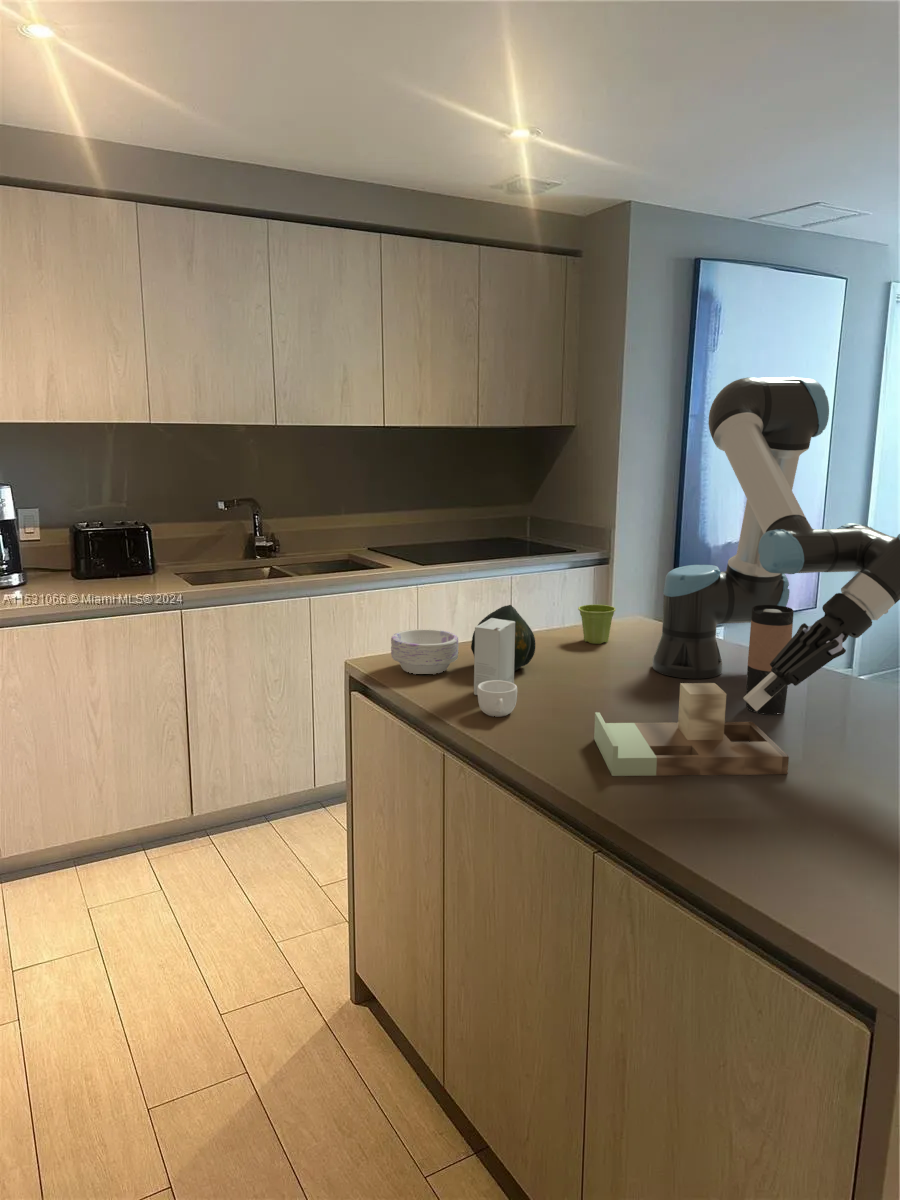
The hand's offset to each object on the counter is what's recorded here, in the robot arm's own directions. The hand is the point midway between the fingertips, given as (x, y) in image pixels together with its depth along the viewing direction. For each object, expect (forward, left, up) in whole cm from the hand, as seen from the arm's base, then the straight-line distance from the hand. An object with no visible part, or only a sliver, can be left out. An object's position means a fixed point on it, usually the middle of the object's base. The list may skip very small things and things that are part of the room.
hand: (749, 704), depth 145 cm
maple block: (+7, -3, -5) cm, 10 cm away
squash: (+18, -61, -9) cm, 65 cm away
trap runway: (+8, -1, -8) cm, 11 cm away
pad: (+21, -5, -8) cm, 23 cm away
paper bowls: (+35, -66, -9) cm, 76 cm away
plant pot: (-14, -74, -9) cm, 76 cm away
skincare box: (+27, -45, -9) cm, 54 cm away
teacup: (+32, -32, -9) cm, 46 cm away
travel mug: (-18, -16, -8) cm, 26 cm away
